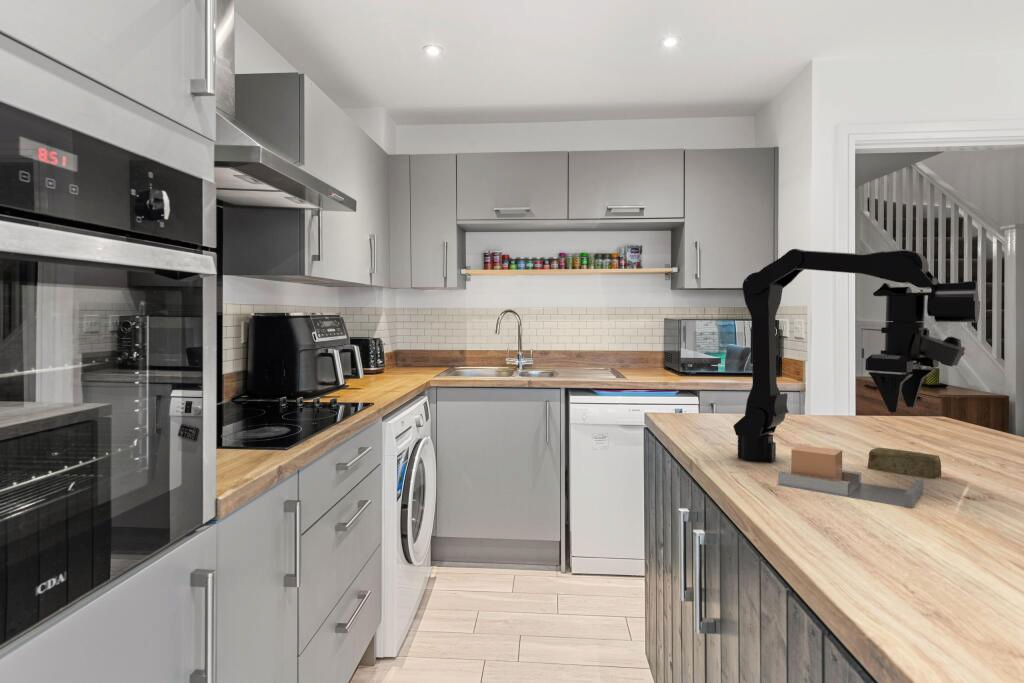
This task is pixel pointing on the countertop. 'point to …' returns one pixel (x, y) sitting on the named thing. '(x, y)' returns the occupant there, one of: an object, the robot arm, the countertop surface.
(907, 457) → the stone block
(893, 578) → the countertop surface
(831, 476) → the block
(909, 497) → the chute
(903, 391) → the robot arm
